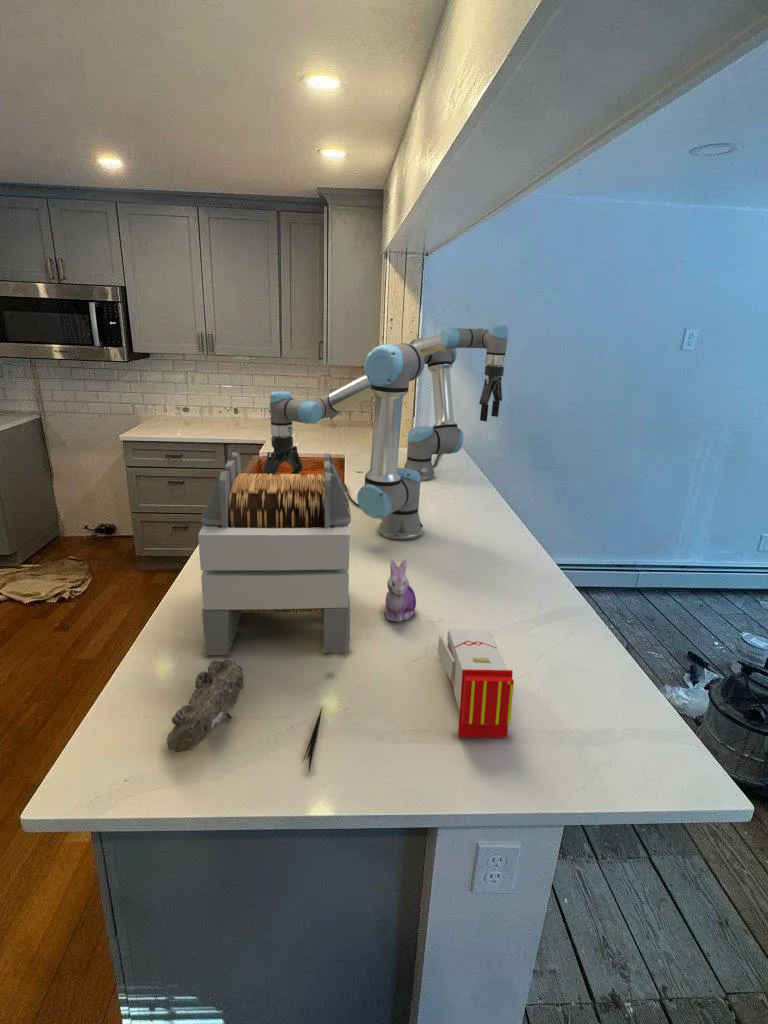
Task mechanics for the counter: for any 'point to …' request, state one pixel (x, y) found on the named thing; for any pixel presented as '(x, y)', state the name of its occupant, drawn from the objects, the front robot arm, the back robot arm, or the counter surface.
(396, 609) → the figurine
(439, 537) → the counter surface
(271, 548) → the cotton gin model
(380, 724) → the counter surface
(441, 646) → the toy
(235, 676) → the fossil
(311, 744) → the feather
